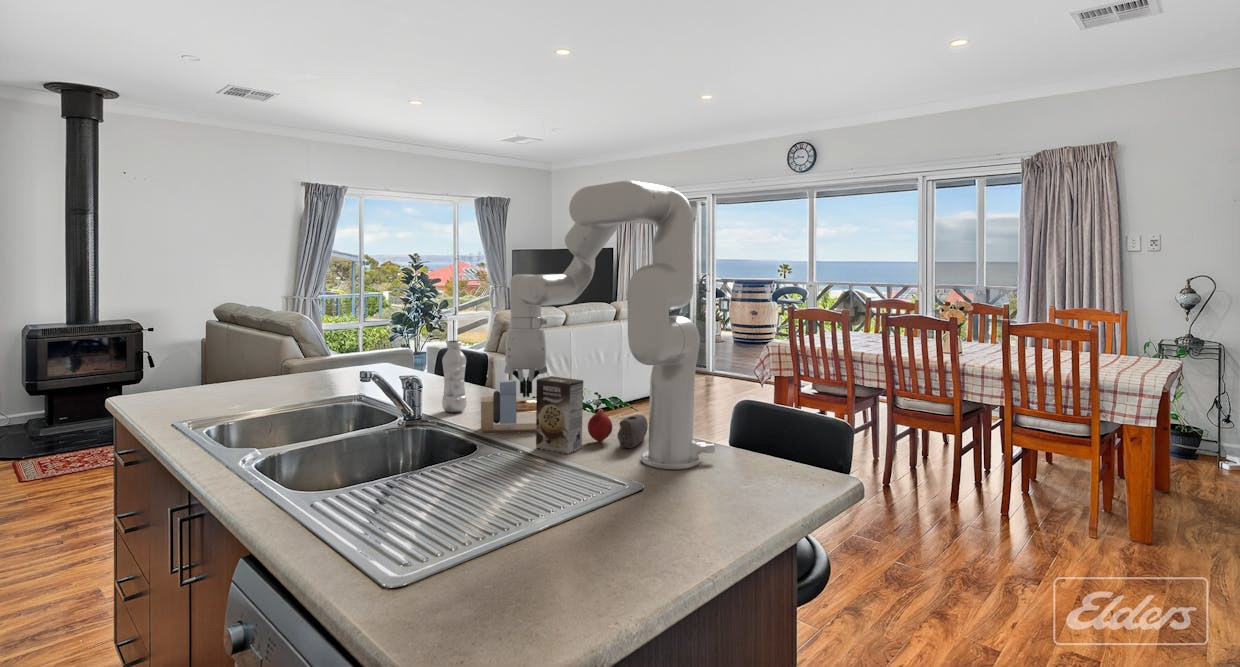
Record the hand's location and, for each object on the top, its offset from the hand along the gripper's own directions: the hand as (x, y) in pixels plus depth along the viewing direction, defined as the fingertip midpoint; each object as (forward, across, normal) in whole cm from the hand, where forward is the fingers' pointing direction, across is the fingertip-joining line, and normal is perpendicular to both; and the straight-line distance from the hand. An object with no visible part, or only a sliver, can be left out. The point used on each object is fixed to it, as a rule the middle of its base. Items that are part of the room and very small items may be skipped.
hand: (526, 396), depth 171 cm
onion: (+9, -17, +14) cm, 24 cm away
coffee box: (+9, -7, +18) cm, 21 cm away
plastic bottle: (+9, +19, -22) cm, 30 cm away
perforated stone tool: (+9, -25, +16) cm, 31 cm away
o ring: (+7, +7, 0) cm, 10 cm away
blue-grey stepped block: (+6, +4, 0) cm, 8 cm away
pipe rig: (+9, +3, 0) cm, 9 cm away
